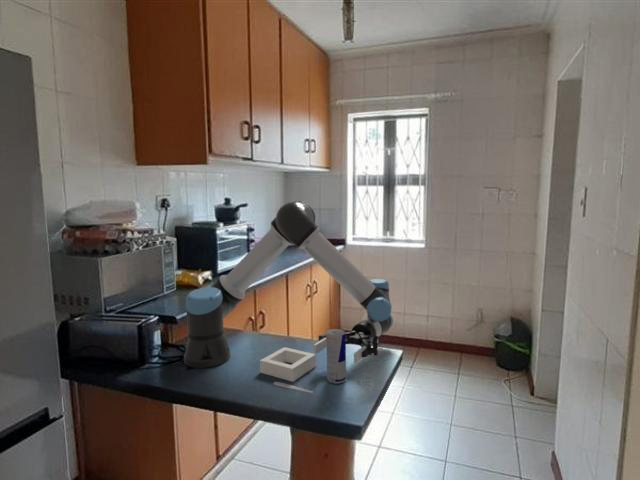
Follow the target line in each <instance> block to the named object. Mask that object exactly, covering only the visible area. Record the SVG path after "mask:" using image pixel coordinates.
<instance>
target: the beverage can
mask: <svg viewBox="0 0 640 480" xmlns="http://www.w3.org/2000/svg"><path fill="white" fill-rule="evenodd" d="M345 333H346V331H345V330H344V329H341V328H340V329H339V328H331V329H328V330H327V331H326V334H327V335H326V338H327V347H326V376H327V377H326V380H327V381H328V382H329V383H332V384H335V385H336V384H337V385H338V384H342V383H344V382H346V380H347V354H346V353H347V350H346V349H347V347H346V345H347V344H346V341H347V338H346V335H345Z"/></svg>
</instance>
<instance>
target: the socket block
mask: <svg viewBox="0 0 640 480" xmlns="http://www.w3.org/2000/svg"><path fill="white" fill-rule="evenodd" d="M316 354H317V353H316ZM316 354H314V353H313V352H312V353H311V352H308V351H303V350H298V349H294V348H289V347H285V346H284V347H282V348H280V349H278V350H276V351H275V352H273V353H271V354H269V355H267V356H265V357H264V358H262V359H260V360H259V365H260V366H259V369H260V371H259V372H260V373H261V374H264V375H268V376H271V377H275V378H278V379H283V380H285V381H288V382H295V381H296V380H298V379H299V378H300V377H302V376H304V375H305V374H306V373H307V374H308V372H309V371H311V370H312V369H314V368H315V367H317V362H316V359H317V357H316V356H317V355H316Z"/></svg>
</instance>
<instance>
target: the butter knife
mask: <svg viewBox="0 0 640 480" xmlns="http://www.w3.org/2000/svg"><path fill="white" fill-rule="evenodd" d="M272 384H273V385H274V386H278V387H280V388H281V387H282V388H285V389H290V390H296V391H300V392H306V393H310V394H313V393H314V391H313V390H309V389H306V388H302V387H298V386H295V385H292V384H287V383H285V382H279V381H274V382H273V383H272Z"/></svg>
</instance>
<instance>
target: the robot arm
mask: <svg viewBox="0 0 640 480" xmlns="http://www.w3.org/2000/svg"><path fill="white" fill-rule="evenodd" d="M288 246H295V247H296V248H297V249H298V250H303V251H304V252H306V254H308V255H309V256H310V257H311V258H312V259H313V260H314V261H315V262H316V263H317V264H318V265H319V266H320V267H321V268H322V269H323V270H324V271H325V272H326V273H327V274H329V276H330V277H332V278H333V279H334V280H335V281H336V282H337V283H338V284H339V285H340V286H341V287H342V288H343V289H344V290H345V291H346V292H347V293H348V294H349V295H350V296H351V297H352V298H353V299H354V300H356V301H357V302H358V303H359V305H360V306H361V307H362V308H363V309H364V310H365V311H366V313H367V315H366V316H367V317H366V318H364V319H362V320H361V321H359V322H358V323H355V325H353V327H352V329H351V330H350V331H347V332H346V331H345V335H346V345H349V344H350V345H358V346H359V347H361V348H360V349H358V350H357V351H355V352H354V353H353V363H354V364H357V363H358V362H360V361H362V359H364V358H367V357H368V356H372V355H373V356H375V357H377V356H378V353H379V351H378V345H379V338H380V336H382V335H384V334H385V333H387V332H388V331H389V330H390V329H391V328H392V326H393V323H394V319H393V316H392V303H391V300H390V285H389V281H388V280H386V279H382V278H374V279H370V280H369V279H368V277H366V275H364V273H362V272H361V271H360V269H358V268H357V267H356V266H355V265H354V264H353V263H352V262H351V261H350V260H349V259H348V258H347V257H345V255H344V254H343V253H342V252H341V251H340V250H339V249H337V247H336V246H334V245H333V244H332V243H331V242H330V241H329V240H328V239H327V238H326V237H325V236H324V235H323V234H322V233H321V232H320V227H319V226H318V225H317V224H316V212H315V211H314V209H313V207H312V205H310V204H308V203H307V202H305V201H302V200H295V201H291V202H287V203H285V204H283V205H282V206H281V207H280V208H279V209H278V211H277V213H276V216H275V217H274V219H272V221H271V222H270V229H269V230H268V231H267V232H266V234H264V236H262V238H261V239H260V240H259V241H258V242H257V243H255V245H254V246H253V247H252V248H251V250H249V252H248V253H247V254H246V255H244V256H243V258H242V259H241V260H240V261H239V262H238V264H236V265H235V267H233V269H232V270H230V272H229V273H227V274H222V275H220V277H218V278H217V279H216V280H215V281H214V283H212V285H210V286H209V287H208V286H207V287H200V288H197V289H194V290H191V291H190V292H189V293H188V294H187V295H186V298H185V310H186V323H187V327H186V328H187V343H186V347H185V352H184V354H183V363H184V364H185V365H186V366H187V367H190V368H195V369H197V368H198V369H203V368H206V369H207V368H211V367H215V366H219V365H222V364H223V363H226V362H228V361H229V359H231V349H230V347H229V345H228V342H227V339H226V337H225V332H224V331H225V330H224V328H225V327H224V319H225V318H226V317H227V316H228V315H229V314H230V313H231V312H233V311H234V310H236V308H237V306H238V305H239V304H240V302H242V300H244V298H245V296H246V290H247V289H248V288H249V287H250V286H251V285H253V283H254V282H255V281H256V280H257V279H258V278H259V277H260V276H261V275H262V274H263V273H264V272H265V271H266V270H267V269H268V267H270V265H271V264H272V263H273V262H274V261H275V260H276V259H277V258H278V257H279V256H280V255H281V254H282V253H283V252H284V251H285V250H286V248H288ZM326 335H327V333H324V334H320V335H318V341H316V342H315V343H314V344H313V346H312V347H313V351H312V352H313V354H318V353H319V352H321V351H323V350H324V349H327V338H326Z"/></svg>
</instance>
